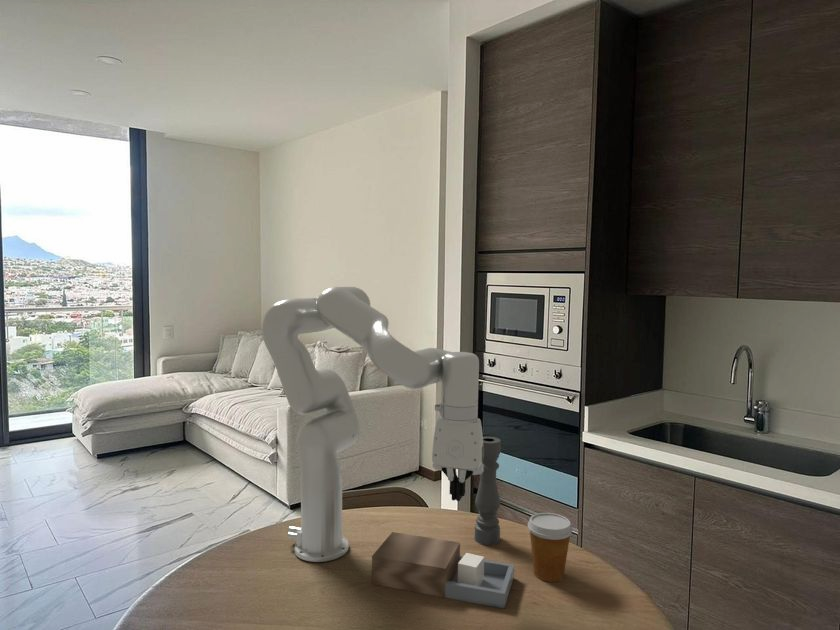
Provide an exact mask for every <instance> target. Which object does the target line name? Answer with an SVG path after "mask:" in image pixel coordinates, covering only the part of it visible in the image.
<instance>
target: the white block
mask: <svg viewBox="0 0 840 630" xmlns="http://www.w3.org/2000/svg"><path fill="white" fill-rule="evenodd" d="M462 556H463V558H462V559H461V560H460V561H459V563H458V583H462V584H468V585H474V586H480V585H481V583H482V582H483V580H484V560H485V556H482V555H478V554H473V553H469V552H465V554H464V555H462Z"/></svg>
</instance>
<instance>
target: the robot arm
mask: <svg viewBox="0 0 840 630" xmlns="http://www.w3.org/2000/svg"><path fill="white" fill-rule="evenodd" d="M389 324H390V323H389V319H388V317H387V316H386V315H385V314H384V313H382V312H381V311H379V310H378V309H376V308H374V307H372V306H371V300H370V298H369V296H368V294H367V293H366V292H365V291H364V290H363V289H361V288H360V287H357V286H355V287H354V286H333V287H329V288H326V289H324V290H323V291H322V292H321V293H319V295H318V296H317V297H303V298H302V297H301V298H300V297H299V298H287V299H283V300H280V301H276V302H275V303H273V304H272V305H271V306H270V307H269V308H268V309H267V311H266V312H265V314H264V317H263V320H262V323H261V334H262V338H263V342H264V345H265V347H266V349H267V351H268V353H269V355H270V357H271V359H272V362H273V364H274V365H275V366H274V367H275V369H276V373H277V375H278V378H279V381H280V383H281V386H282V390H283V392H284V395H285V396H286V399H287V402H288V405H289V406H290V408H291V410H292V411H293V412H294V413H295V414H298V415H303V416H305V415H309V414H312V413H313V414H314V413H316V412H319V413H320V415H319V416H316V417H315V418H312V419H311V420H308V421H306V422H305V423H304V424H303V425H302V426H301V427H300V428H299V430H298V432H297V435H296V440H295V441H296V442H295V443H296V450H297V454H298V458H299V459H298V460H299V465H300V466H299V469H300V510H301V511H300V512H301V513H300V514H301V515H300V519H301V520H300V527H299V526H295V525H290V526H289V527H288V531H287V538H288V539H290V540H291V539H292V540H293V539H294V540H296V543H295V545H294V554H295V555H296V557H298V558H299V559H300V560H303V561H306V562H311V563H322V562H330V561H333V560H336V559H339V558H341V557H343V556H344V555H345V554H347V552H348V551H349V548H350V547H349V540H348V539H347V538H346V537H345V536H343V474H342V467H341V465H340V463H339V461H338V455H337V454H339V453H340V452H341V451H345V450H346V449H348V448H350V447H351V446H353V445H354V444H355V443H356V442H357V440H359V436H360V433H361V426H360V421H359V418H358V414H357V412H356V409H355V407H354V404H353V402H352V398H351V395H350V394H349V391H348V389H347V388H348V387H347V386H346V384H345V382H344V380H343V379H342V377H341V375H339V374H338V373H337V372H336V371H333V370H331V369H328V368H326V369H325V368H324V369H323V368H322V369H316V366H315V365H314V361H313V359H312V355H311V354H310V351H309V350H308V349H307V347H306V345H304V343H303V341H302V342H301V340H300V339H299V337H298V336H299V335H303V334H312V333H317V332H323V331H327V330H331V329H336V330H337V331H339V332H341V333H342V334H343V335H345V336H346V337H347V338H349V339H351V340H352V341H353V342H355V343H357V344H358V345H359V346H360V347H361V348H363V349H364V350H365V353H366V355H367V356H368V358H369V359H370V361H371V362H372V364H373V365H374V366H375V368H377V369H378V370H379V371H380V372H382V374H385V375H386V376H387V377H389V379H391V380H393V381H394V382H396V383H397V384H399V385H401V386H403V387H405V388H408V389H411V390H420V389H423V388H425V387H427V386H430V385H435V384H437V383H441V402H440V403H438V404H435V405H434V411H437V412H439V413H440V414H439V416H438V417H437V418H436V422H435V427H434V433H433V434H434V435H433V443H432V452H431V453H432V454H431V456H432V457H431V460H432V468H434V469H436V470H438V471H440V472H441V471H442V473H443V474H444V475H445V476H446V478H447V480H448V481H449V495H451V501H456V502H460V501H461V500H462V498H463V497H465V496H466V481H467V479H469V478H470V477H471V476H476V475H480V474H482V473H483V471H484V468H483V464H482V462H483V454H484V453H483V437H484V436H483V427H482V420H481V419H480V418H478V417H479V416H478V414H479V412H478V410H479V375H480V374H479V373H480V372H479V371H480V360H479V357H478V356H477V355H476V354H475V353H473V352H467V351H448V350H445V349H440V348H436V347H427V348H424V349H419V350H416V351H415V350H412V349H410V348H408V346H406V345H404V344H403V343H401V342H400V341H399V340H397V339H396V338H395V337H394V336H392V334H391V333H390V332H389V331H388V329H389ZM457 470H460V472H459V477H458V474H457Z"/></svg>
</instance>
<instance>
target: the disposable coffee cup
mask: <svg viewBox="0 0 840 630" xmlns="http://www.w3.org/2000/svg"><path fill="white" fill-rule="evenodd" d="M527 528H528V530H529V535H530V544H531V545H530V546H531V555H532V564H533V565H532V566H533V575H535V577H536V578H537V579H539V580H541V581H545V582H549V583H553V582H555V583H556V582H559V581H562V580H563V579H564V578H565V577H564V575H565V568H566V563H567V557H568V550H569V546H570V545H569V543H570V538H571V535H572V533H573V526H572V524H571V521H570V519H568V518H567V517H566V516H564V515H561V514H558V513H552V512H540V513H535V514H533V515H531V516H530V517H529V521H528V522H527Z"/></svg>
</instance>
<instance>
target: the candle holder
mask: <svg viewBox="0 0 840 630" xmlns="http://www.w3.org/2000/svg"><path fill="white" fill-rule="evenodd" d="M483 453H484V454H483V462H482V464H483V468H484V471H483V473H482V474H479V476H480V477H479V483H478V484H479V485H478V488H477V492H476V496H475V500H474V502H475V506H476V507H475V508H476V509H477V510H478V516H477V517H476V519H475V524H474V541H475V542H476V543H477V544H480V545H483V546H495V545H497V544H499V543H500V541H501V526H500V520H499V518H498V517H497V512H498V510H499V509H500V507H501V499H500V494H499V491H498V485H497V470H498V469H499V468H500V463H498V462H497V461H498V459H499V457H500V454H501V439H500V438H498V437H495V436H483Z"/></svg>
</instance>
